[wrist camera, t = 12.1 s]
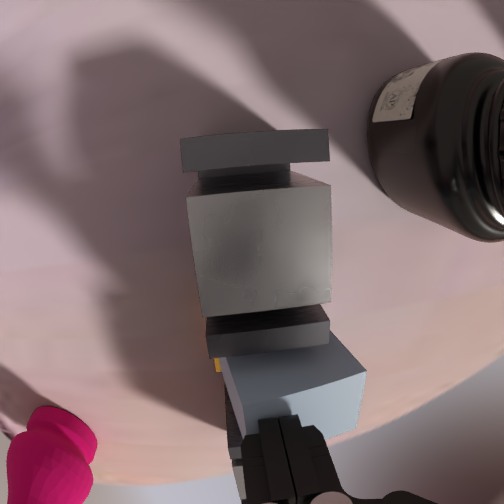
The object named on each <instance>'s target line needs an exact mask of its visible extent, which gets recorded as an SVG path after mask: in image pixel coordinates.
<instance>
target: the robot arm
mask: <svg viewBox="0 0 504 504" xmlns="http://www.w3.org/2000/svg"><path fill="white" fill-rule="evenodd" d="M258 430H259V434H250V435H245V437H244V439H243V441H242V444H241V456H242V465H243V475H244V484H245V492H246V501H247V504H437V503H435V502H432V501H430V500H427V499H424V498H422V497H420V496H417V495H415V494H412V493H410V492H406V491H395V492H391V493H389V494H388V495H386V496H385V497H384V498H383V499H357V498H354V497H352V496H350V495H348V494H347V493H346V492H345V491H344V490H343V489H342V487H341V484H340V481H339V478H338V476H337V473H336V470H335V467H334V464H333V462H332V459H331V456H330V453H329V450H328V447H327V445H326V442H325V439H324V436H323V434H322V433H321V432H320V431H319V430H318V429H317V428H316V427H315V426H314V425H310V426H304V427H302V425H301V422H300V419H299V416H298V414H295V415H288V416H282V417H278V419H277V417H276V418H269V419H261V420H258Z"/></svg>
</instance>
